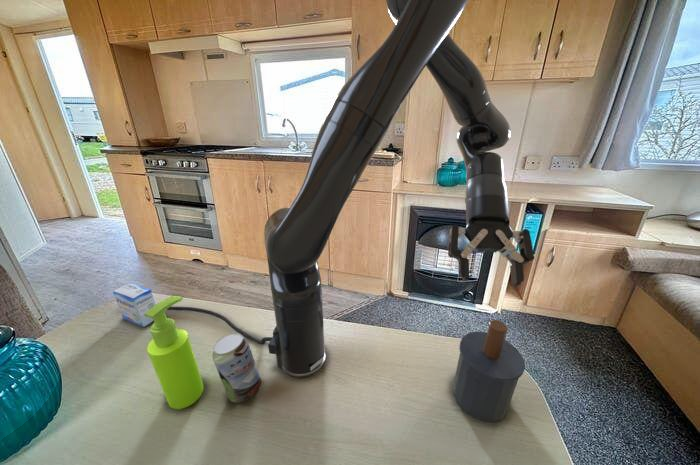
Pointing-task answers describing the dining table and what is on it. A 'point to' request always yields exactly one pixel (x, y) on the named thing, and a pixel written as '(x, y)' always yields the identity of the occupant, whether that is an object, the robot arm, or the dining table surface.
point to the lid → (492, 353)
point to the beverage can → (236, 367)
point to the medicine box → (135, 303)
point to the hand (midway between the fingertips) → (490, 282)
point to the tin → (481, 393)
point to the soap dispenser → (173, 358)
